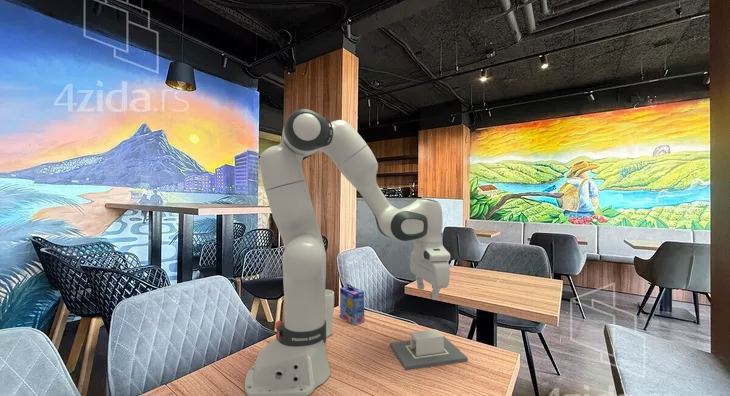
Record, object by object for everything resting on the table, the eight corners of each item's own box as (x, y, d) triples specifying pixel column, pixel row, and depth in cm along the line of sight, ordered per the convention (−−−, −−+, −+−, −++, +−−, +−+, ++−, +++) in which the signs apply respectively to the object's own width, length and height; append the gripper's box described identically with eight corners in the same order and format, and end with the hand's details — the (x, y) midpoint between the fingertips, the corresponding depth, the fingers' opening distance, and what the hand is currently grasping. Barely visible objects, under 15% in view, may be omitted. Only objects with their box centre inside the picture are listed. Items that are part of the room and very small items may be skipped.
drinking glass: (330, 339, 101) (330, 296, 101) (312, 337, 102) (312, 294, 102) (336, 331, 107) (336, 290, 107) (318, 329, 109) (319, 288, 109)
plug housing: (416, 355, 89) (417, 339, 89) (410, 347, 94) (410, 332, 94) (443, 352, 91) (443, 336, 91) (435, 344, 96) (436, 329, 96)
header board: (405, 370, 84) (405, 356, 84) (389, 345, 97) (389, 333, 97) (467, 361, 88) (467, 347, 88) (444, 339, 102) (444, 327, 102)
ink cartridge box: (339, 317, 119) (339, 281, 119) (349, 314, 123) (350, 279, 123) (353, 325, 112) (354, 288, 112) (364, 322, 115) (365, 285, 115)
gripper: (405, 244, 102) (405, 284, 102) (433, 256, 82) (433, 306, 82) (422, 244, 103) (422, 283, 103) (453, 256, 84) (453, 304, 84)
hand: (427, 293), depth 93 cm, fingers open, 8 cm apart
